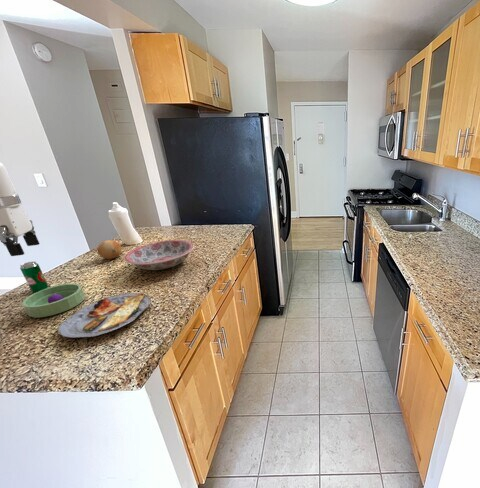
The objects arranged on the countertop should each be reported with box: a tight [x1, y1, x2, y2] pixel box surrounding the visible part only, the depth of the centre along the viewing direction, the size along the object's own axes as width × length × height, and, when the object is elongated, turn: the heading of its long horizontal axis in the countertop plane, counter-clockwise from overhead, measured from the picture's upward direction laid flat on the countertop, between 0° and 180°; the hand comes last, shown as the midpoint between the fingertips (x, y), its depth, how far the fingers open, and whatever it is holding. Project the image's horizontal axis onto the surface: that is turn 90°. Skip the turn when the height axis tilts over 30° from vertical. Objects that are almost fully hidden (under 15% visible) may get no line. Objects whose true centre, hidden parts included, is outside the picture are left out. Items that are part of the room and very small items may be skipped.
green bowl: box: [21, 282, 86, 318], centre depth 97 cm, size 16×16×5 cm
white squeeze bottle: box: [107, 202, 144, 246], centre depth 152 cm, size 12×11×25 cm
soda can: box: [19, 261, 49, 293], centre depth 106 cm, size 5×5×12 cm
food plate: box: [57, 292, 152, 339], centre depth 90 cm, size 25×23×4 cm
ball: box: [48, 294, 63, 303], centre depth 97 cm, size 4×4×4 cm
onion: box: [97, 239, 123, 260], centre depth 135 cm, size 10×10×10 cm
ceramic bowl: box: [124, 239, 195, 271], centre depth 127 cm, size 29×29×8 cm
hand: (26, 249), depth 91 cm, fingers open, 9 cm apart
